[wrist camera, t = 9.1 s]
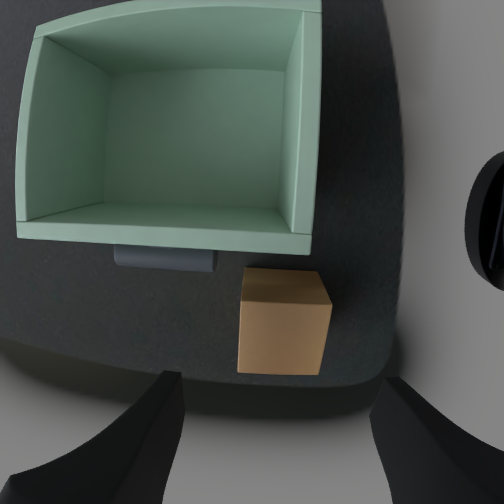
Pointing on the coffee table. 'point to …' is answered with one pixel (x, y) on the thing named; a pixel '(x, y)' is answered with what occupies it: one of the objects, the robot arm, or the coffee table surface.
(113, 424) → the robot arm
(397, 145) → the coffee table surface
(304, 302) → the block
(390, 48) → the coffee table surface
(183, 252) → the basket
